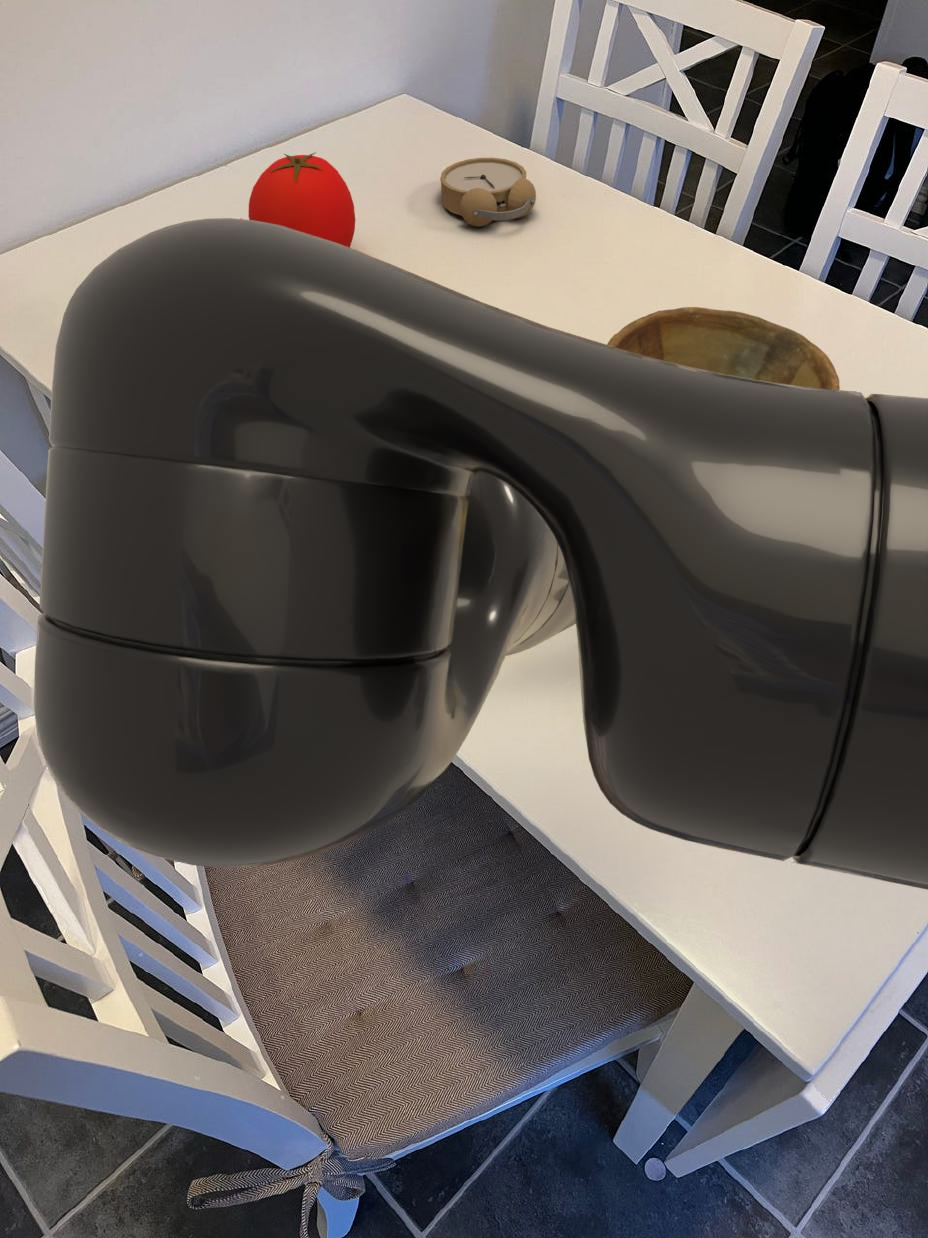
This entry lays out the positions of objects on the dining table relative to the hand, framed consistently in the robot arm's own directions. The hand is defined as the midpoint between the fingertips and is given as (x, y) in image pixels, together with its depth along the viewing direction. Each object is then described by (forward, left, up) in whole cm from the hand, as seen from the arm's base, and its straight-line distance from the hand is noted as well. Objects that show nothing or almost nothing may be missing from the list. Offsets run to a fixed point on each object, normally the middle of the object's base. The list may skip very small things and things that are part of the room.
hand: (579, 541), depth 48 cm
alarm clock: (+22, -81, -26) cm, 87 cm away
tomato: (+41, -64, -26) cm, 80 cm away
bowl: (-8, -38, -26) cm, 47 cm away
